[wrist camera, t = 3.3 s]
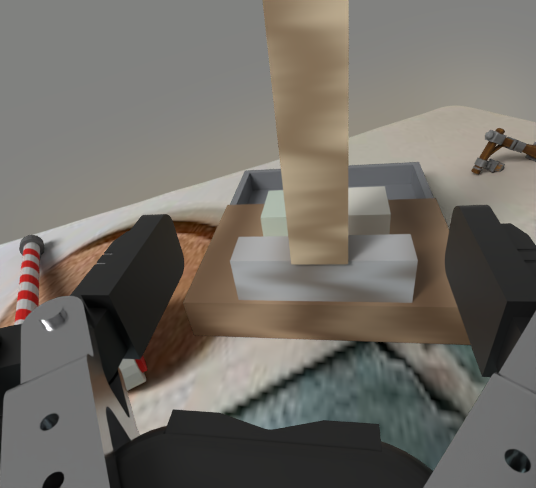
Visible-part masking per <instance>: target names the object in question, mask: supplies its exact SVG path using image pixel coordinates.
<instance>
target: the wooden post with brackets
mask: <svg viewBox="0 0 536 488" xmlns="http://www.w3.org/2000/svg"><path fill="white" fill-rule="evenodd" d="M504 132H505V131H504V129H501V128H498V129H496V131H493V130H490V131H489V132H487V133H486V134H485V140H488V141H489V142H488V144H487V145H486V147H485V149H484V150H483V152H482V154H481V155H480V157H479V158H477V160H476V162H475V166H474V167H473V169H472V170H471V171H472V172H474V173H476V174H480V172H481V171H482V168H484V167H485V169H487V170H489V171H491V172H493V171H497V172H501V170H503V169H504V165H505V164H503V163H501V162H498V161H495V160H492V159H490V160H489V161H487V160H488V158H489V157H490V155H492V154H493V153H495V152H496V151H497V150H499V149H500V148H501V147H505V148H508V149H510V150H513V151H517V152H520V153H521V152H524V153H526V154H527V156H526V158H529V159H531V160H533V161H536V142H535V143H534V144H533V145H529V144H526V143H523V142H521V141H518V140H516V139H513V138H510V137H507V138H506V135H503V134H504ZM497 144H499V145H497ZM496 145H497V146H496ZM495 146H496V147H495Z"/></svg>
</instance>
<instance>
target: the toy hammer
mask: <svg viewBox="0 0 536 488" xmlns="http://www.w3.org/2000/svg"><path fill="white" fill-rule="evenodd" d="M19 249H20V253H21V254H22V255H23V257H22V266H21V274H20V283H19V291H18V299H17V308H16V316H15V325H18V324H22V323H23V321H24V320H25V318H26V317H27V316H28V315H29V314H30V313H31V312H32V311H33V310H34V309H35V308H37V307H38V304H39V266H40V254H42V253H43V250H44V243H43V240H42V239H41V238H40V237H38V236H35V235H28V236H26V237H24V238H23V239H22V240H21V242H20V248H19ZM119 368H120V370H121V372H122V375H123V378H124V382H125V386H126V389H127V391H128V390H130V389H132V388H134V387H136V386H138V385H140V384H141V383H143V382H145V381H146V376H145V374H144V372H145V371H147V366H146V363H145V360H144V357H143V355H142V357H141V359H140V360H138V359H123V360H122V362H121V364H120V366H119Z"/></svg>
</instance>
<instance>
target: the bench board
mask: <svg viewBox="0 0 536 488" xmlns="http://www.w3.org/2000/svg"><path fill="white" fill-rule="evenodd" d="M388 204H389V208H390V213H391V218H390V231H389V234H411V237H412V241H413V245H414V248H415V252H416V256H417V259H418V263H417V270H416V278H415V285H414V293H413V300H412V303H392V302H330V301H268V300H239V299H238V295H237V290H236V286H235V282H234V277H233V273H232V268H231V264H230V260H231V257H232V254H233V251H234V249H235V246H236V243H237V240H238V238H239V237H263V231H262V224H261V214H262V211H263V208H264V204H241V205H227V207H226V209H225V212H224V214H223V216H222V218H221V220H220V223H219V225H218V227H217V229H216V231H215V233H214V236H213V238H212V240H211V242H210V244H209V247H208V249H207V251H206V253H205V255H204V258H203V260H202V262H201V264H200V266H199V268H198V271H197V273H196V275H195V277H194V279H193V282H192V284H191V286H190V288H189V290H188V292H187V295H186V297H185V299H184V301H183V304H184V307H185V310H186V313H187V316H188V319H189V322H190V325H191V328H192V331H193V334H194V335H201V336H230V337H258V338H287V339H316V340H345V341H373V342H402V343H431V344H460V345H471V344H470V341H469V338H468V335H467V332H466V330H465V327H464V324H463V321H462V318H461V315H460V313H459V310H458V307H457V304H456V301H455V299H454V296H453V293H452V290H451V287H450V284H449V282H448V279H447V276H446V271H445V251H446V246H447V240H448V235H449V229H448V226H447V224H446V221H445V219H444V217H443V214H442V212H441V210H440V207H439V205H438V203H437V200H436V198H425V199H394V200H388Z"/></svg>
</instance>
